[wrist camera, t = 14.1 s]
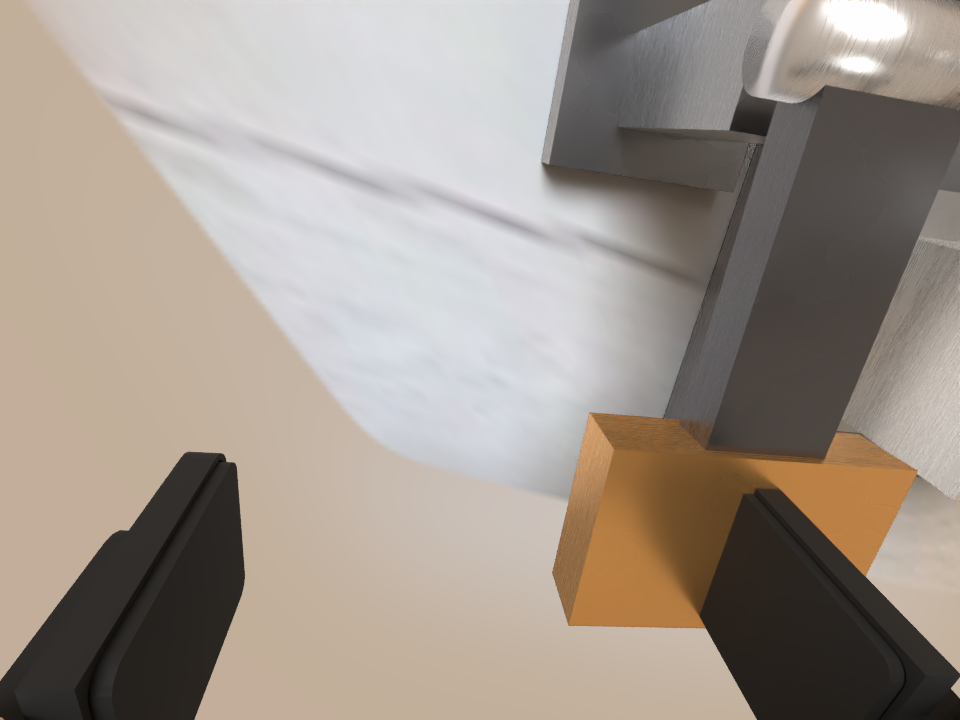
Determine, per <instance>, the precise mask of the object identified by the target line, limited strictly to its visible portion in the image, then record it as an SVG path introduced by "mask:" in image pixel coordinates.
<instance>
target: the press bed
mask: <svg viewBox="0 0 960 720" xmlns="http://www.w3.org/2000/svg"><path fill="white" fill-rule="evenodd" d="M766 1H767V0H570V4H569V10H568V15H567V21H566V27H565V32H564V38H563V43H562V49H561V54H560V60H559V65H558V71H557V77H556V82H555V88H554V93H553V99H552V104H551V110H550V115H549V121H548V126H547V132H546V138H545V143H544V149H543V154H542V160H541V162H543V163H546V164H548V165H554V166H561V167H567V168H574V169H581V170H587V171H594V172H601V173H607V174H614V175H621V176H627V177H634V178H641V179H647V180H654V181H661V182H667V183H674V184H681V185H687V186H694V187H701V188H707V189H714V190H721V191H727V192H733V190H734V187H735V184H736V181H737V178H738V175H739V172H740V169H741V166H742V163H743V160H744V157H745V154H746V151H747V148H748V145H749V143H754V144H757V146H756V149H755V152H754V155H753V158H752V161H751V163H750V166H749V169H748V172H747V175H746V178H745V181H744V184H743V187H742V190H741V193H740V196H739V199H738V202H737V204H736V207H735V210H734V213H733V216H732V219H731V222H730V225H729V228H728V231H727V234H726V237H725V240H724V243H723V245H722V248H721V251H720V254H719V257H718V260H717V263H716V266H715V269H714V272H713V275H712V278H711V281H710V284H709V286H708V289H707V292H706V295H705V298H704V301H703V304H702V307H701V310H700V313H699V316H698V319H697V322H696V325H695V327H694V330H693V333H692V336H691V339H690V342H689V345H688V348H687V351H686V354H685V357H684V360H683V363H682V365H681V368H680V371H679V374H678V377H677V380H676V383H675V386H674V389H673V392H672V395H671V398H670V401H669V404H668V406H667V409H666V412H665V415H664V419H676V420H681V418H682V414H683V411H684V408H685V404H686V401H687V398H688V394H689V391H690V388H691V385H692V381H693V378H694V375H695V371H696V368H697V365H698V361H699V358H700V355H701V351H702V348H703V345H704V342H705V338H706V335H707V332H708V328H709V325H710V322H711V318H712V315H713V312H714V308H715V305H716V302H717V299H718V295H719V292H720V289H721V285H722V282H723V279H724V275H725V272H726V269H727V265H728V262H729V259H730V256H731V252H732V249H733V246H734V242H735V239H736V236H737V232H738V229H739V226H740V222H741V219H742V216H743V213H744V209H745V206H746V203H747V199H748V196H749V193H750V189H751V186H752V183H753V179H754V176H755V173H756V170H757V166H758V163H759V160H760V156H761V153H762V150H763V146H764V143H765V140H766V136H767V133H768V130H769V127H770V123H771V120H772V117H773V113H774V110H775V107H776V103H777V101H776V100H770V99H764V98H759V97H753V96H751V95H749V94H748V93H747V92H746V90H745V88H744V85H743V81H742V63H743V57H744V52H745V48H746V45H747V41H748V38H749V36H750V33H751V30H752V28H753V25H754V23H755V21H756V19H757V17H758V15H759V13H760V11H761V9H762V8H763V6H764V4H765V3H766ZM919 236H922V237H928V238H935V239H942V240H949V241H955V242H960V141H959V143H958V145H957V148H956V150H955V153H954V155H953V157H952V160H951V162H950V164H949V167H948V169H947V171H946V174H945V176H944V179H943V181H942V183H941V186H940V188H939V190H938V193H937V195H936V197H935V200H934V202H933V205H932V207H931V209H930V212H929V214H928V216H927V219H926V221H925V223H924V226H923V228H922V230H921V233H920V235H919ZM836 432H837V433H849V434H859V435H861V436H862V437H864V438H866V439H867V440H869V441H871V440H870V439H868V438H867V437H866V436H864V435H863V434H861V433H860V432H859V431H857V430H856V429H855V428H853V427H852V426H850V425H849V424H848V423H846V422H845V421H844V420H842V419H841V422H840V424H839V427H838V429H837V431H836ZM871 442H872V441H871ZM872 443H874V442H872ZM874 444H875V443H874ZM875 445H877V444H875ZM877 446H878V445H877ZM880 448H881V447H880ZM916 476H918V477H921V476H919V475H918V474H917V475H916Z"/></svg>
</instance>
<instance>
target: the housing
mask: <svg viewBox="0 0 960 720" xmlns="http://www.w3.org/2000/svg"><path fill="white" fill-rule="evenodd" d="M842 420H844V421H845V422H846V423H848V424H849V425H850V426H852V427H853V428H855V429H856V430H857V431H859V432H860V433H861V434H863V435H864V436H866V437H867V438H868V439H870V440H871V441H872V442H874V443H875V444H877V445H878V446H879V447H881V448H882V449H884V450H885V451H887V452H888V453H890V454H892V455H893V456H895V457H896V458H898V459H900V460H901V461H903V462H905V463H906V464H908V465H909V466H911V467H913V468H914V469H916V470H918V473H917V474H918V475H919V476H921V477H922V478H923V479H925V480H926V481H927V482H929V483H930V484H932V485H933V486H934V487H936V488H937V489H938V490H940V491H941V492H943V493H944V494H945V495H947V496H948V497H949V498H951V499H952V500H954V501H960V242H955V241H949V240H942V239H935V238H928V237H922V236H919V238H918V240H917V242H916V245H915V247H914V249H913V252H912V254H911V256H910V259H909V261H908V264H907V266H906V268H905V271H904V273H903V275H902V278H901V280H900V282H899V285H898V287H897V290H896V292H895V294H894V297H893V299H892V301H891V304H890V306H889V308H888V311H887V313H886V316H885V318H884V320H883V323H882V325H881V327H880V330H879V332H878V334H877V337H876V339H875V341H874V344H873V346H872V349H871V351H870V353H869V356H868V358H867V360H866V363H865V365H864V367H863V370H862V372H861V375H860V377H859V379H858V382H857V384H856V386H855V389H854V391H853V393H852V396H851V398H850V401H849V403H848V405H847V408H846V410H845V412H844V415H843V417H842Z"/></svg>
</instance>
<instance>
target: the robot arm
mask: <svg viewBox="0 0 960 720" xmlns="http://www.w3.org/2000/svg"><path fill="white" fill-rule="evenodd" d="M754 493H755V494H747V493H744V494H743V496H742V499H741V502H740V505H739V508H738V510H737V513H736V516H735V519H734V521H733V524H732V527H731V530H730V532H729V535H728V538H727V541H726V543H725V546H724V549H723V552H722V554H721V557H720V560H719V563H718V565H717V568H716V571H715V574H714V576H713V579H712V582H711V585H710V587H709V590H708V593H707V596H706V599H705V601H704V604H703V607H702V610H701V612H700V615H699V617H700V618H701V620H702V622H703V624H704V626H705V627H706V629H707V631H708V633H709V634H710V636H711V638H712V640H713V642H714V643H715V645H716V647H717V649H718V651H719V652H720V654H721V656H722V658H723V659H724V661H725V663H726V665H727V667H728V669H729V670H730V672H731V674H732V676H733V677H734V679H735V681H736V682H737V684H738V686H739V688H740V690H741V692H742V694H743V695H744V697H745V699H746V701H747V703H748V704H749V706H750V708H751V710H752V711H753V713H754V715H755V717H756V718H757V720H960V698H959V697H958V696H957V695H956V694H955V693H954V692H953V691H952V690H951V687H952V686H953V685H954V683H955V682H956V681H957V680H958V679H959V677H960V673H958V671H957V670H956V669H955V668H954V667H953V666H952V665H951V664H950V663H949V662H948V661H947V660H946V659H945V658H944V657H943V656H942V655H941V654H940V653H939V652H938V651H937V650H936V649H935V648H934V647H933V646H932V645H931V644H930V643H929V642H928V641H927V639H926V638H924V636H923V635H922V634H921V633H919V631H918V630H917V629H916V628H915V627H914V626H913V625H912V624H911V623H910V622H909V621H908V620H907V619H906V618H905V617H904V616H903V615H902V614H901V613H900V612H899V611H898V610H897V609H896V608H895V607H894V606H893V605H892V604H891V603H890V602H889V600H887V598H886V597H885V596H884V595H883V594H882V593H881V592H880V591H879V590H878V589H877V588H876V587H875V586H874V585H873V584H872V583H871V582H870V581H869V580H868V579H867V578H866V577H865V576H864V575H863V574H862V573H861V572H860V571H859V570H858V569H857V568H856V567H855V565H854V564H853V563H852V562H851V561H850V560H849V559H848V558H847V557H846V556H845V555H844V554H843V553H842V552H841V551H840V550H839V549H838V548H837V547H836V546H835V545H834V544H833V543H832V542H831V541H830V540H829V539H828V538H827V537H826V536H825V535H824V534H823V533H822V532H821V531H820V530H819V528H818V527H817V526H816V525H815V524H814V523H813V522H812V521H811V520H810V519H809V518H808V517H807V516H806V515H805V514H804V513H803V512H802V511H801V510H800V509H799V508H798V507H797V506H796V505H795V504H794V503H793V502H792V501H791V500H790V499H789V498H788V497H787V496H786V495H785V494H784V493H783V491H782V490H780V489H763V488H756V489H755V492H754ZM244 579H245V571H244V557H243V545H242V531H241V518H240V504H239V491H238V479H237V467H236V464H235V463H232V462H226V458H225V456H224V454H221V453H203V452H187V453H185V454H184V455H183V456H182V457H181V459H180V460H179V461H178V463H177V464H176V466H175V467H174V468H173V470H172V471H171V473H170V474H169V476H168V477H167V478H166V479H165V481H164V482H163V484H162V485H161V486H160V488H159V489H158V491H157V492H156V493H155V495H154V496H153V498H152V499H151V500H150V502H149V503H148V505H147V506H146V507H145V509H144V510H143V512H142V513H141V514H140V516H139V517H138V518H137V520H136V521H135V523H134V524H133V526H132V527H131V528H130V530H129V531H121V530H120V531H118V532H116V533H114V534H112V536H110V537H109V539H108V540H107V541H106V542H105V543H104V544H103V546H102V547H101V548H100V550H99V551H98V552H97V554H96V555H95V556H94V557H93V559H92V560H91V561H90V563H89V564H88V565H87V567H86V568H85V569H84V571H83V572H82V573H81V575H80V576H79V578H78V579H77V580H76V582H75V583H74V584H73V586H72V587H71V588H70V589H69V591H68V592H67V594H66V595H65V596H64V597H63V599H62V600H61V601H60V603H59V604H58V605H57V607H56V608H55V609H54V610H53V612H52V613H51V614H50V616H49V617H48V619H47V620H46V621H45V623H44V624H43V625H42V626H41V628H40V629H39V630H38V632H37V633H36V635H35V636H34V637H33V638H32V640H31V641H30V642H29V644H28V645H27V646H26V648H25V649H24V650H23V652H22V653H21V654H20V656H19V657H18V658H17V660H16V661H15V662H14V664H13V665H12V666H11V668H10V669H9V670H8V671H7V673H6V674H5V676H4V677H3V678H2V679H1V681H0V720H194V719H195V716H196V714H197V711H198V708H199V706H200V703H201V701H202V698H203V695H204V692H205V690H206V687H207V685H208V682H209V680H210V677H211V674H212V672H213V669H214V666H215V664H216V661H217V658H218V656H219V653H220V651H221V648H222V645H223V643H224V640H225V637H226V635H227V632H228V630H229V627H230V624H231V622H232V619H233V616H234V614H235V611H236V609H237V606H238V603H239V600H240V598H241V595H242V591H243V587H244Z"/></svg>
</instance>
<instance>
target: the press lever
mask: <svg viewBox="0 0 960 720" xmlns="http://www.w3.org/2000/svg"><path fill="white" fill-rule="evenodd" d="M742 81H743V85H744V88H745V90H746V92H747V93H748V94H749V95H751V96H753V97H759V98H764V99H770V100H776V101H777V103H776V107H775V110H774V113H773V117H772V120H771V123H770V127H769V130H768V133H767V136H766V140H765V143H764V146H763V150H762V153H761V156H760V160H759V163H758V166H757V170H756V173H755V176H754V179H753V183H752V186H751V189H750V193H749V196H748V199H747V203H746V206H745V209H744V213H743V216H742V219H741V222H740V226H739V229H738V232H737V236H736V239H735V242H734V246H733V249H732V252H731V256H730V259H729V262H728V265H727V269H726V272H725V275H724V279H723V282H722V285H721V289H720V292H719V295H718V299H717V302H716V305H715V308H714V312H713V315H712V318H711V322H710V325H709V328H708V332H707V335H706V338H705V342H704V345H703V348H702V351H701V355H700V358H699V361H698V365H697V368H696V371H695V375H694V378H693V381H692V385H691V388H690V391H689V394H688V398H687V401H686V404H685V408H684V411H683V414H682V418H681V420H676V419H664V418H651V417H639V416H627V415H614V414H602V413H589V417H588V421H587V426H586V430H585V434H584V438H583V443H582V447H581V451H580V456H579V460H578V464H577V469H576V473H575V477H574V482H573V486H572V490H571V494H570V499H569V503H568V507H567V512H566V516H565V520H564V525H563V529H562V534H561V538H560V542H559V546H558V550H557V555H556V559H555V564H554V568H553V572H552V573H553V576H554V579H555V583H556V586H557V590H558V593H559V596H560V599H561V602H562V606H563V609H564V612H565V615H566V618H567V622H568V625H569V626H616V627H620V626H621V627H666V628H706V627H705V626H704V624H703V622H702V620H701V618H700V617H699V615H700V612H701V610H702V607H703V604H704V601H705V599H706V596H707V593H708V590H709V587H710V585H711V582H712V579H713V576H714V574H715V571H716V568H717V565H718V563H719V560H720V557H721V554H722V552H723V549H724V546H725V543H726V541H727V538H728V535H729V532H730V530H731V527H732V524H733V521H734V519H735V516H736V513H737V510H738V508H739V505H740V502H741V499H742V496H743V494H744V493H747V494H755V493H754V492H755V489H756V488H763V489H780V490H782V491H783V493H784V494H785V495H786V496H787V497H788V498H789V499H790V500H791V501H792V502H793V503H794V504H795V505H796V506H797V507H798V508H799V509H800V510H801V511H802V512H803V513H804V514H805V515H806V516H807V517H808V518H809V519H810V520H811V521H812V522H813V523H814V524H815V525H816V526H817V527H818V528H819V530H820V531H821V532H822V533H823V534H824V535H825V536H826V537H827V538H828V539H829V540H830V541H831V542H832V543H833V544H834V545H835V546H836V547H837V548H838V549H839V550H840V551H841V552H842V553H843V554H844V555H845V556H846V557H847V558H848V559H849V560H850V561H851V562H852V563H853V564H854V565H855V567H856V568H857V569H858V570H859V571H860V572H861V573H862V574H863V575H864V576H866V574H867V572H868V570H869V568H870V566H871V564H872V562H873V560H874V558H875V556H876V554H877V552H878V550H879V548H880V546H881V544H882V542H883V540H884V538H885V536H886V534H887V532H888V530H889V528H890V526H891V524H892V522H893V520H894V518H895V516H896V514H897V512H898V510H899V508H900V506H901V504H902V502H903V500H904V498H905V496H906V494H907V492H908V490H909V488H910V486H911V485H912V483H913V481H914V479H915V477H916V475H917V473H918V470H916V469H914V468H913V467H911V466H909V465H908V464H906V463H905V462H903V461H901V460H900V459H898V458H896V457H895V456H893V455H892V454H890V453H888V452H887V451H885V450H884V449H882V448H880V447H879V446H877V445H875V444H874V443H872V442H871V441H869V440H867V439H866V438H864V437H862V436H861V435H859V434H849V433H837V432H836V431H837V429H838V427H839V424H840V422H841V419H842V417H843V415H844V412H845V410H846V408H847V405H848V403H849V401H850V398H851V396H852V393H853V391H854V389H855V386H856V384H857V382H858V379H859V377H860V375H861V372H862V370H863V367H864V365H865V363H866V360H867V358H868V356H869V353H870V351H871V349H872V346H873V344H874V341H875V339H876V337H877V334H878V332H879V330H880V327H881V325H882V323H883V320H884V318H885V316H886V313H887V311H888V308H889V306H890V304H891V301H892V299H893V297H894V294H895V292H896V290H897V287H898V285H899V282H900V280H901V278H902V275H903V273H904V271H905V268H906V266H907V264H908V261H909V259H910V256H911V254H912V252H913V249H914V247H915V245H916V242H917V240H918V238H919V235H920V233H921V230H922V228H923V226H924V223H925V221H926V219H927V216H928V214H929V212H930V209H931V207H932V205H933V202H934V200H935V197H936V195H937V193H938V190H939V188H940V186H941V183H942V181H943V179H944V176H945V174H946V171H947V169H948V167H949V164H950V162H951V160H952V157H953V155H954V153H955V150H956V148H957V145H958V143H959V141H960V0H767V1H766V3H765V4H764V6H763V8H762V9H761V11H760V13H759V15H758V17H757V19H756V21H755V23H754V25H753V28H752V30H751V33H750V36H749V38H748V41H747V45H746V48H745V52H744V57H743V63H742Z"/></svg>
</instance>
